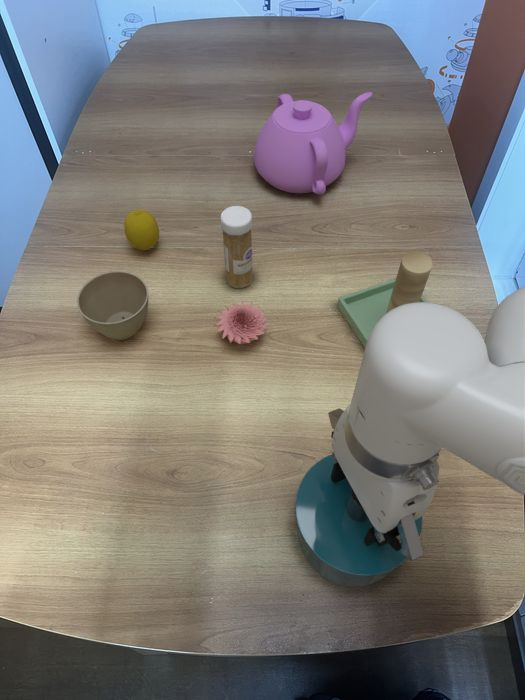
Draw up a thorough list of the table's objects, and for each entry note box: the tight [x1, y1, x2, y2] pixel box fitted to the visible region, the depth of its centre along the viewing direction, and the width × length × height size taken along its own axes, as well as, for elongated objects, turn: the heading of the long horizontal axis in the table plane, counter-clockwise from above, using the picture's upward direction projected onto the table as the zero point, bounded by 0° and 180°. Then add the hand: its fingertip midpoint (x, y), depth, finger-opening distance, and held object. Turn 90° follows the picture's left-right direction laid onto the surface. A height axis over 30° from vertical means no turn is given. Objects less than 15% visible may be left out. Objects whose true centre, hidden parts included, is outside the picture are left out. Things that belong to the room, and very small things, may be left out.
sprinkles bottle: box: [220, 205, 254, 289], centre depth 83 cm, size 5×5×14 cm
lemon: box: [123, 209, 160, 251], centre depth 89 cm, size 6×6×8 cm
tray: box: [336, 278, 429, 349], centre depth 81 cm, size 15×12×2 cm
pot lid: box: [295, 453, 423, 576], centre depth 57 cm, size 14×14×6 cm
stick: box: [386, 250, 434, 313], centre depth 76 cm, size 4×4×14 cm
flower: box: [213, 300, 269, 345], centre depth 79 cm, size 8×8×6 cm
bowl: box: [76, 270, 149, 341], centre depth 80 cm, size 10×10×7 cm
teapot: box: [253, 91, 373, 196], centre depth 99 cm, size 22×22×14 cm
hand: (360, 505), depth 57 cm, fingers open, 6 cm apart
